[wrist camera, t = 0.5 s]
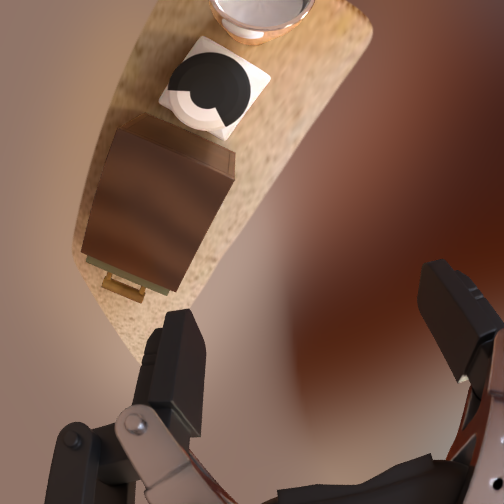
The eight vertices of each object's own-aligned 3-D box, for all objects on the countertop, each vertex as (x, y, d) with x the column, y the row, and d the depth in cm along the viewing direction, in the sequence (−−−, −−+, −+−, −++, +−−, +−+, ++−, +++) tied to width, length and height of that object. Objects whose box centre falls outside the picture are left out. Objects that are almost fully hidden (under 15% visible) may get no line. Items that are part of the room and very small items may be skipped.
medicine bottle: (208, 41, 28) (193, 26, 17) (265, 75, 30) (279, 79, 20) (171, 95, 31) (139, 110, 20) (227, 128, 33) (222, 158, 23)
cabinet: (186, 248, 41) (176, 292, 33) (107, 214, 38) (80, 252, 30) (235, 152, 35) (234, 179, 27) (145, 112, 31) (117, 127, 24)
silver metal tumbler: (298, 12, 26) (341, -23, 13) (262, 60, 29) (280, 55, 16) (242, -20, 24) (244, -76, 11) (205, 29, 27) (181, 2, 14)
